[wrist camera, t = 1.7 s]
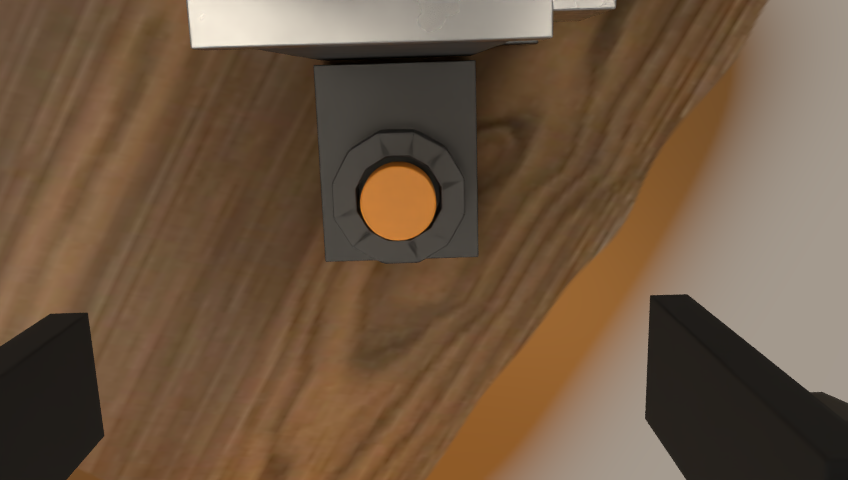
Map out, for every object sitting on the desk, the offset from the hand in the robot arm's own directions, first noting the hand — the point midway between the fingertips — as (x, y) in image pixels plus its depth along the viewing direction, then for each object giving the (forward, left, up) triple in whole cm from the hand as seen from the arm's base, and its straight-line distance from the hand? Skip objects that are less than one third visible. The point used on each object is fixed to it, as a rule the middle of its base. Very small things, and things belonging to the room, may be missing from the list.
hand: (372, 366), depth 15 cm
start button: (0, 0, -22) cm, 22 cm away
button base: (-1, -1, -26) cm, 26 cm away
